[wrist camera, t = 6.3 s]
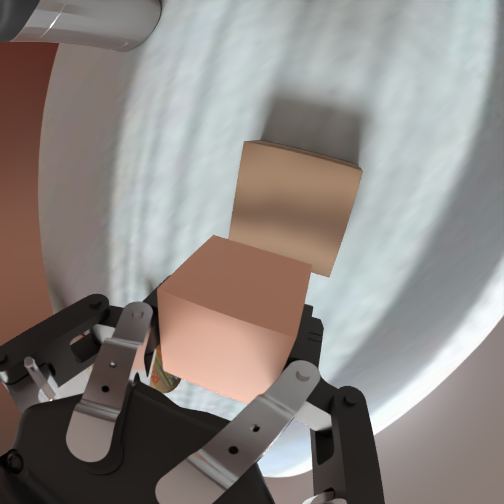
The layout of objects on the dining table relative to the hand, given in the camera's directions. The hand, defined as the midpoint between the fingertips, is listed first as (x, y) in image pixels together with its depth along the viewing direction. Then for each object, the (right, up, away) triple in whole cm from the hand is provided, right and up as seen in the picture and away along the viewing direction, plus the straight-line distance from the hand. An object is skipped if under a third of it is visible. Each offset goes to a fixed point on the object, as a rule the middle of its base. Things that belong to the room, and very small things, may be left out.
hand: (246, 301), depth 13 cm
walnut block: (+5, +8, +14) cm, 17 cm away
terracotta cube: (0, 0, +1) cm, 1 cm away
